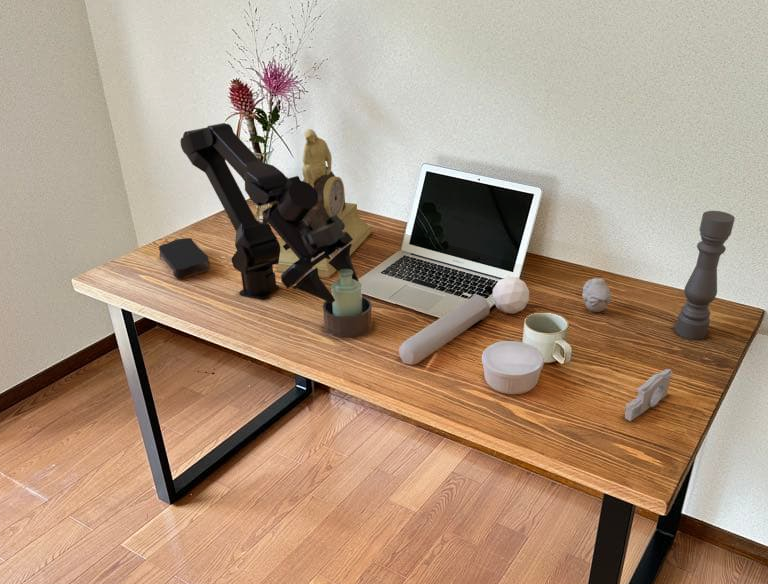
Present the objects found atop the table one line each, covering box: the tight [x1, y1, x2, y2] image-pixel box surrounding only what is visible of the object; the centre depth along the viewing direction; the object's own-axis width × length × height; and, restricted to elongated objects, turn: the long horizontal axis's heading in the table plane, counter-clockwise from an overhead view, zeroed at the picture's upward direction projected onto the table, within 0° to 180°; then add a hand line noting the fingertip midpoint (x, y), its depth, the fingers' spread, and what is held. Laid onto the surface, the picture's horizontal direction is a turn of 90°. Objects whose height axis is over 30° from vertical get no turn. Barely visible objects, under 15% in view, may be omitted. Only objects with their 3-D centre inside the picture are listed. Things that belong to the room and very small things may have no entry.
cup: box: [321, 295, 373, 339], centre depth 148 cm, size 10×10×5 cm
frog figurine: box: [581, 277, 612, 313], centre depth 155 cm, size 6×7×7 cm
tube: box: [397, 293, 491, 366], centre depth 144 cm, size 5×5×25 cm
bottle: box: [330, 269, 363, 316], centre depth 145 cm, size 6×6×12 cm
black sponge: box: [158, 237, 211, 280], centre depth 171 cm, size 16×8×4 cm, turn 32°
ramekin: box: [481, 340, 545, 395], centre depth 132 cm, size 11×11×5 cm
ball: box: [492, 276, 530, 314], centre depth 154 cm, size 8×8×8 cm
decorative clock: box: [276, 128, 372, 278], centre depth 172 cm, size 28×13×30 cm, turn 164°
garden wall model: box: [624, 368, 674, 422], centre depth 125 cm, size 12×2×6 cm, turn 133°
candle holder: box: [674, 210, 736, 340], centre depth 143 cm, size 6×6×25 cm
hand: (345, 292), depth 145 cm, fingers open, 9 cm apart
